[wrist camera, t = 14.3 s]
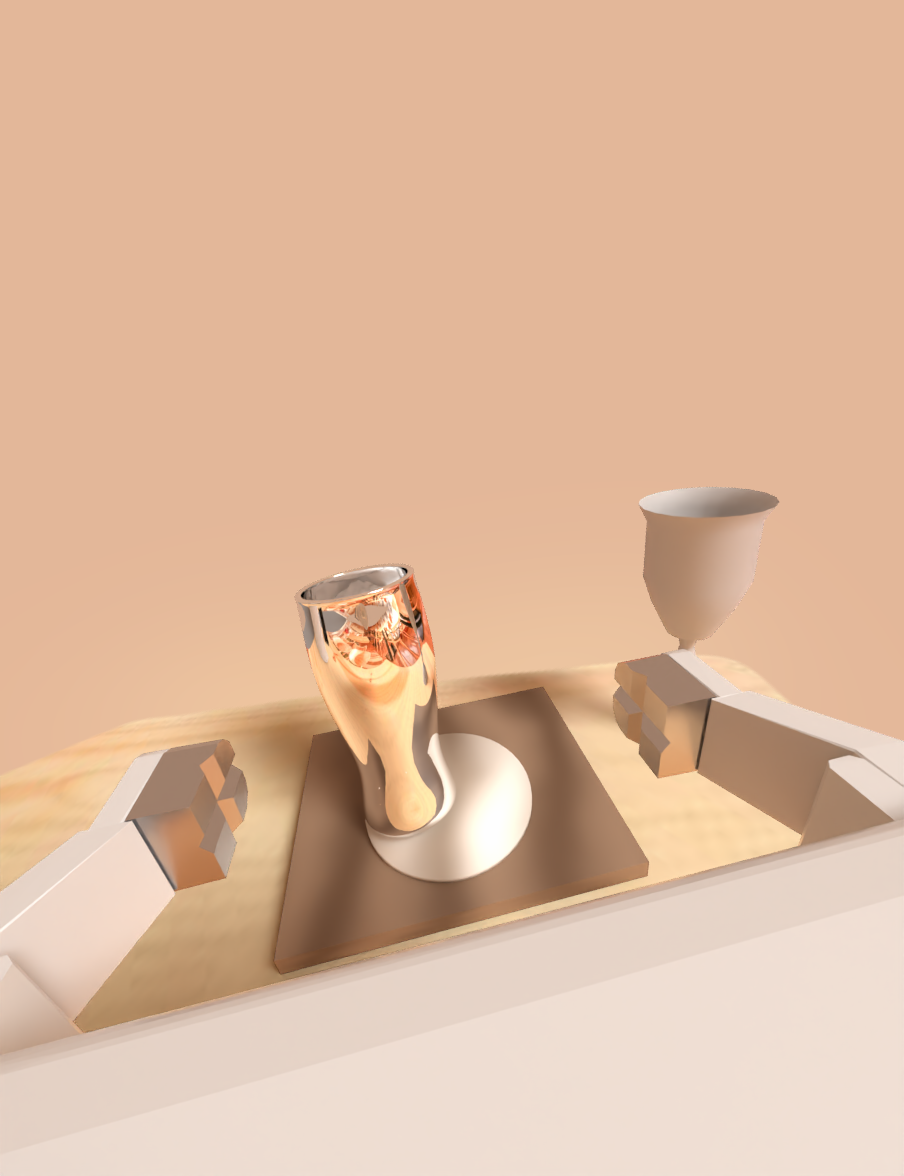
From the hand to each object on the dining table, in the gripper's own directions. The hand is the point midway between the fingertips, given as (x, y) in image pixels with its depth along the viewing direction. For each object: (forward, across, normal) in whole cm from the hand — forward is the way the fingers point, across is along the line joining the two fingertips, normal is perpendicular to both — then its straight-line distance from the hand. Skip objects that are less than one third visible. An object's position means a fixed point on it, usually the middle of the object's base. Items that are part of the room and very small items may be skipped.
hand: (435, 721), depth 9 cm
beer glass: (+13, +2, +18) cm, 22 cm away
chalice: (+15, -19, +19) cm, 31 cm away
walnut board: (+14, -1, +20) cm, 24 cm away
